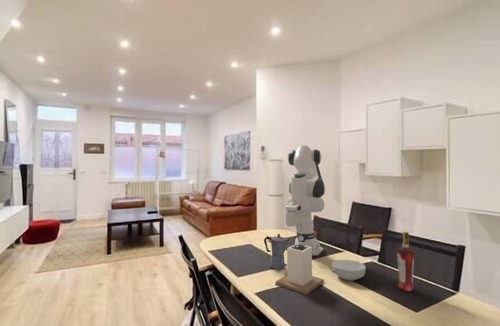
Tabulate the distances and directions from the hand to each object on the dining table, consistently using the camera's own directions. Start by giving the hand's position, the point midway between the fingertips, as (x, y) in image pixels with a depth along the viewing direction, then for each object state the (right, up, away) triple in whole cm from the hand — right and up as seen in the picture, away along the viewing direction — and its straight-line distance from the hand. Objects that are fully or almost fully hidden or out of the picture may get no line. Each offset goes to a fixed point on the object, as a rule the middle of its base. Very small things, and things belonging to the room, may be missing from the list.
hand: (299, 231), depth 148 cm
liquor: (+51, -27, -8) cm, 58 cm away
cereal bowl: (+28, -27, +7) cm, 39 cm away
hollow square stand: (0, -27, 0) cm, 27 cm away
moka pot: (-10, -27, +23) cm, 36 cm away
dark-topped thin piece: (0, -24, 0) cm, 24 cm away
